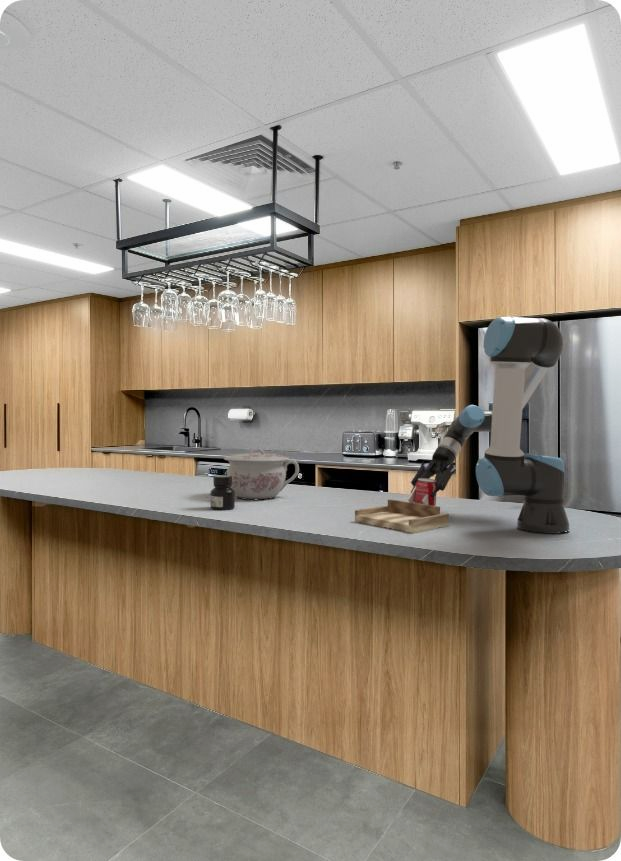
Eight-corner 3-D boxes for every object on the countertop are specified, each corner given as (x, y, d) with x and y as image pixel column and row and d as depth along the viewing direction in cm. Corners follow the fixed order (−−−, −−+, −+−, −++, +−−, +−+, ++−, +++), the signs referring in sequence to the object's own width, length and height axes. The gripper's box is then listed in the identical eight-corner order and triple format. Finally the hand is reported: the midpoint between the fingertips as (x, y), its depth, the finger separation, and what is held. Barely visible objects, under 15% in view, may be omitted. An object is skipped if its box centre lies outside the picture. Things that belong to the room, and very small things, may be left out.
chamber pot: (209, 498, 246) (209, 448, 246) (252, 491, 269) (253, 445, 268) (262, 504, 230) (262, 451, 230) (303, 497, 253) (303, 448, 252)
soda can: (434, 520, 200) (438, 482, 198) (413, 518, 201) (416, 480, 200) (434, 516, 207) (437, 479, 205) (413, 513, 208) (416, 477, 207)
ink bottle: (206, 507, 223) (206, 475, 222) (228, 505, 227) (229, 474, 227) (216, 511, 214) (216, 478, 214) (238, 509, 218) (238, 477, 218)
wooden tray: (448, 525, 190) (448, 506, 189) (412, 533, 178) (413, 512, 177) (390, 515, 208) (391, 498, 207) (354, 521, 196) (355, 502, 195)
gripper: (473, 461, 207) (444, 513, 196) (429, 458, 221) (400, 507, 210) (464, 446, 203) (434, 498, 192) (421, 444, 217) (391, 493, 206)
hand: (417, 502), depth 201 cm, fingers open, 5 cm apart
